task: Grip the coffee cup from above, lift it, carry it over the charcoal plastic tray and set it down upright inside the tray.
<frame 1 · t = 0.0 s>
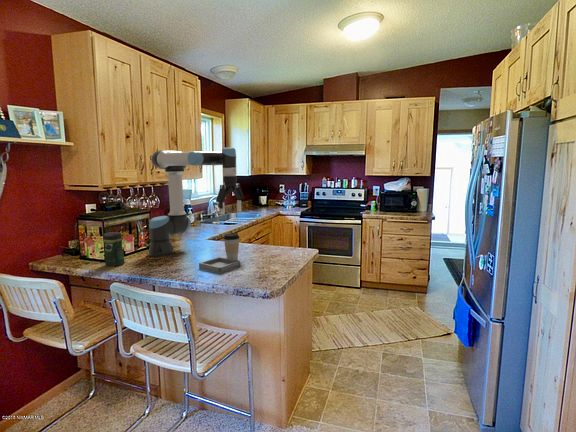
hand: (231, 212, 197), 28 cm above the countertop, tool pointing down, fingers open, 13 cm apart
tray: (219, 267, 188), on the countertop
coffee cup: (232, 260, 203), on the countertop
coffee jar: (115, 264, 196), on the countertop
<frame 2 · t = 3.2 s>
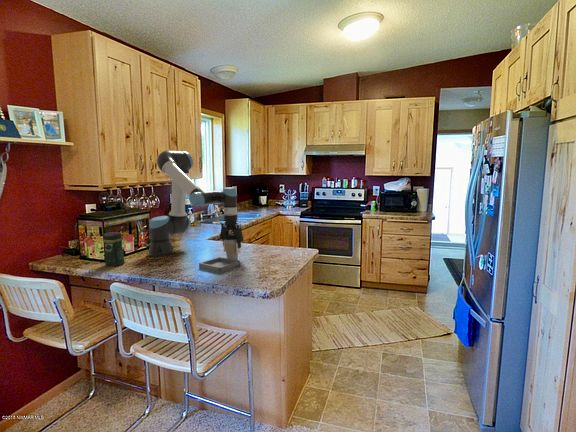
hand: (232, 252, 202), 5 cm above the countertop, tool pointing down, fingers closed on coffee cup, 9 cm apart
coffee cup: (232, 260, 203), on the countertop, touching gripper
everything else where it was.
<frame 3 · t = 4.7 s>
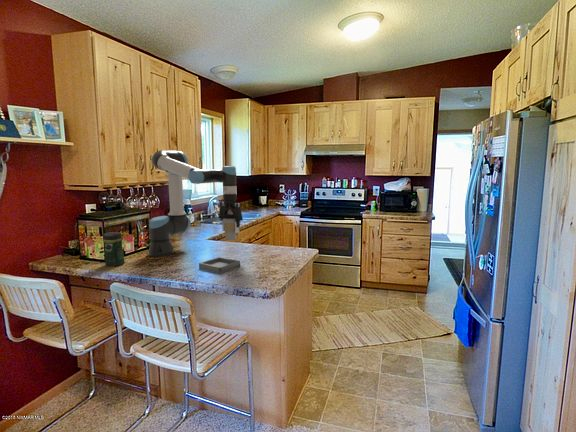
hand: (230, 231, 200), 17 cm above the countertop, tool pointing down, fingers closed on coffee cup, 9 cm apart
coffee cup: (231, 239, 201), point 12 cm above the countertop, touching gripper
everything else where it was.
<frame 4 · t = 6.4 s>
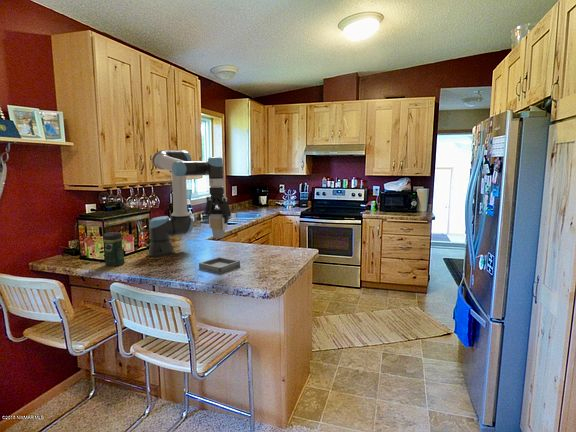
hand: (218, 228, 185), 21 cm above the countertop, tool pointing down, fingers closed on coffee cup, 9 cm apart
coffee cup: (218, 237, 185), point 17 cm above the countertop, touching gripper
everything else where it was.
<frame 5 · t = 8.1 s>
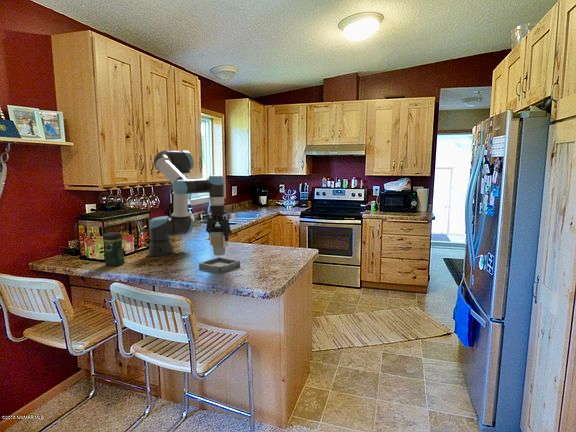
hand: (218, 245, 186), 12 cm above the countertop, tool pointing down, fingers closed on coffee cup, 9 cm apart
coffee cup: (219, 254, 186), point 7 cm above the countertop, touching gripper
everything else where it was.
when the fingers open (7 cm above the countertop, at t = 9.6 s): coffee cup drops 1 cm, resting on tray.
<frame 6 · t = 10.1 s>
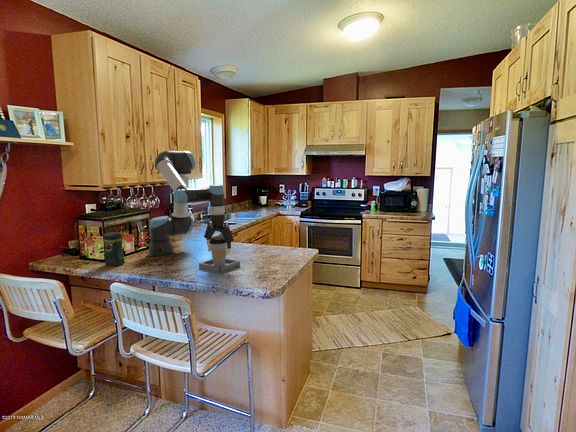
hand: (219, 252, 186), 8 cm above the countertop, tool pointing down, fingers open, 13 cm apart
coffee cup: (219, 265, 188), point 1 cm above the countertop, touching tray
everything else where it was.
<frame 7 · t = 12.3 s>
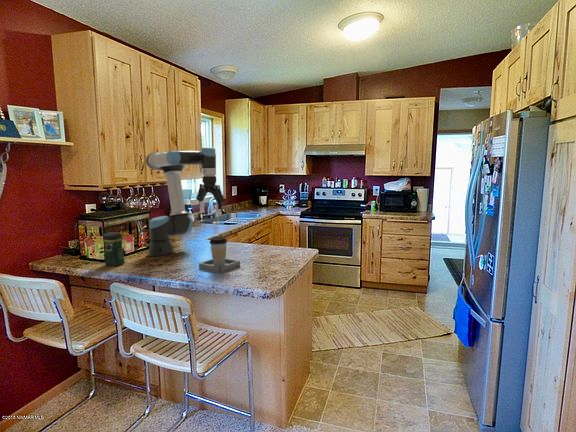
hand: (210, 213, 194), 28 cm above the countertop, tool pointing down, fingers open, 13 cm apart
nothing on the countertop moved.
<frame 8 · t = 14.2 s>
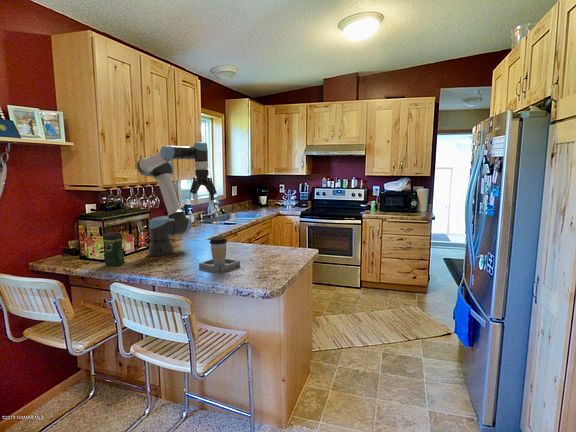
hand: (203, 205, 205), 32 cm above the countertop, tool pointing down, fingers open, 13 cm apart
nothing on the countertop moved.
at the end: coffee cup 0.3 cm off-centre on the tray, point 0.8 cm above the tray's base; coffee cup tilted 0°; the gripper is holding nothing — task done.
